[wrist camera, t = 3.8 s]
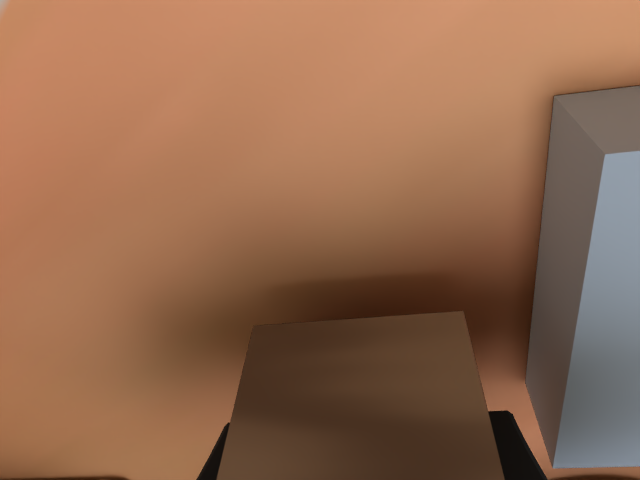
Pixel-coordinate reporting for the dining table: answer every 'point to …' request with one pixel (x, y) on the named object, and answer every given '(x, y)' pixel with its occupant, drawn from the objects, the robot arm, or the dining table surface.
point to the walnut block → (361, 403)
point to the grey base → (589, 284)
